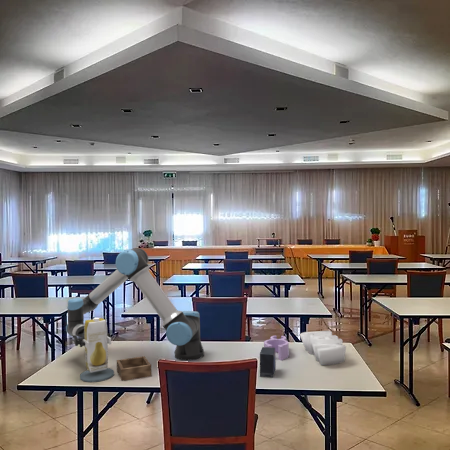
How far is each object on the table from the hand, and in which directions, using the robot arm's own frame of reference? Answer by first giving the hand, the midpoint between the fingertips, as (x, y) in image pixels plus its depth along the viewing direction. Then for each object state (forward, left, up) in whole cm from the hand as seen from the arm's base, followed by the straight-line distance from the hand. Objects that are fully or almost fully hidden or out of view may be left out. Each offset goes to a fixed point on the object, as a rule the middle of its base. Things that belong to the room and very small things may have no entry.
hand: (99, 343), depth 200 cm
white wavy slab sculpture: (-106, +18, -16) cm, 109 cm away
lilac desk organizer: (-88, +4, -16) cm, 89 cm away
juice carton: (+1, -4, -13) cm, 14 cm away
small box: (-71, +27, -16) cm, 78 cm away
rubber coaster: (+1, -4, -16) cm, 17 cm away
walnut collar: (-15, 0, -16) cm, 22 cm away
